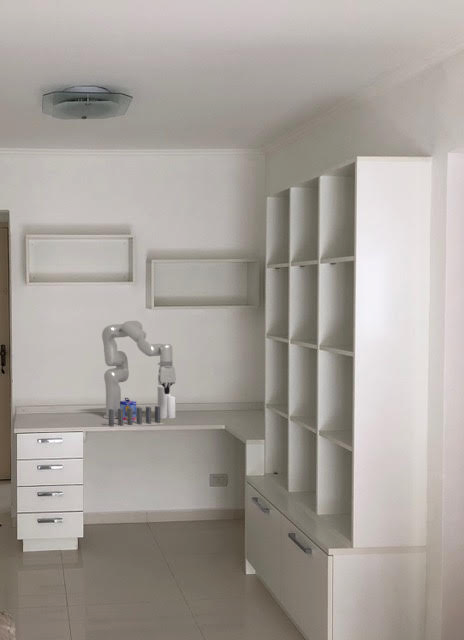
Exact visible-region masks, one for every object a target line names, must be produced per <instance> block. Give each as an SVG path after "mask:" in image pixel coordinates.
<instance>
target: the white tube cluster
mask: <svg viewBox="0 0 464 640" xmlns="http://www.w3.org/2000/svg"><path fill="white" fill-rule="evenodd" d="M157 406H159V407H160V419H167V418H168V419H176V396H175V395H172V393H171V392H169V394H165V393H164V387H163V386H162V385H159V386H157Z"/></svg>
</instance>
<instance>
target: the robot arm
mask: <svg viewBox="0 0 464 640" xmlns="http://www.w3.org/2000/svg"><path fill="white" fill-rule="evenodd" d="M127 337H128V338H130V339H131V340H132V341H134V342H135V343H136V346H137V348H138V349H139V351H140V352H142V354H144V355H145V356H147V357H160V358H159V359H160V360H159V362H158V363H157V365H158V366H159V368H158V375H157V380H158V383H157V384H158V385H159V386H163V387H164V393H165V394H169V393H171V392H170V391H171V390H170V389H171V387H172V386H173V385H175V384H176V371H175V366H174V365H173V363H174V362H173V345H172V344H167V343H165V344H162V343H151V344H150V343H149V342H148V341H146V338H147V333H146V331H144V329H143V325H142V323H141V322H140V321H138V320H128V321H125V322H123V323H121V324H119V323H118V324H110V325H106V327H104V329H102V333H101V338H102V342H103V352H104V362H105V364H106V365H107V367H113V368H108V369H106V371H105V372H104V375H103V377H104V378H103V379H104V385H105V414H104V415H103V419H109V409H113V410H114V419H118V408H120V401H122V393H121V391H122V390H121V386H120V384H119V383H124V382H126V381H127V380H128V379H129V376H130V375H129V374H130V372H129V362H128V356H127V355H126V353H125V352H124V351H121V350H118V345H117V342H116V340H115V339H116V338H118V339H119V338H127Z"/></svg>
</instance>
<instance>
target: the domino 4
mask: <svg viewBox="0 0 464 640" xmlns="http://www.w3.org/2000/svg"><path fill="white" fill-rule="evenodd" d="M136 414H137V420H136V423H137V424H139V425H141V424H142V422H143V408H142V407H139V406H136ZM141 426H142V425H141Z"/></svg>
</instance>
